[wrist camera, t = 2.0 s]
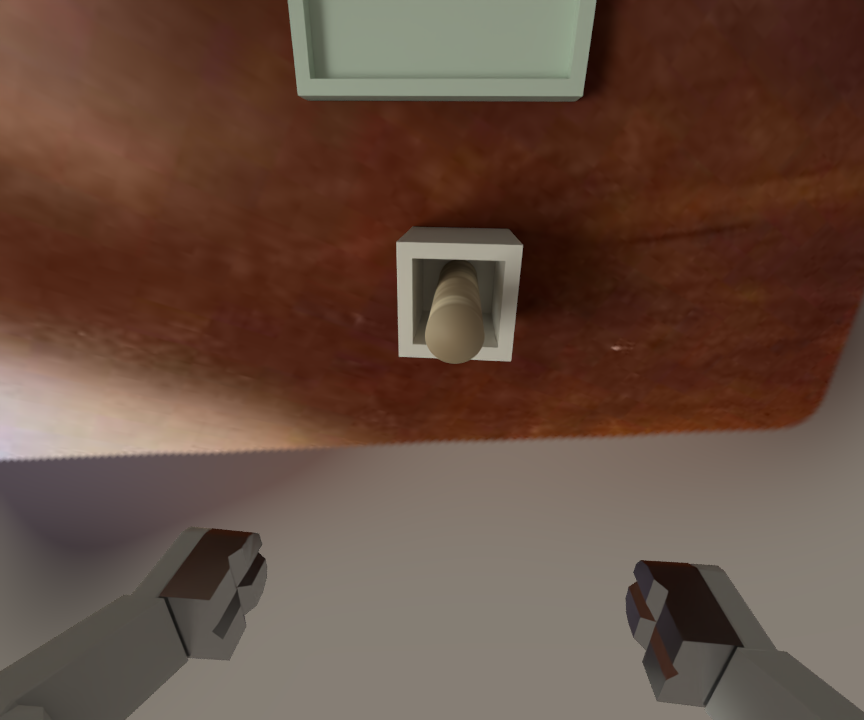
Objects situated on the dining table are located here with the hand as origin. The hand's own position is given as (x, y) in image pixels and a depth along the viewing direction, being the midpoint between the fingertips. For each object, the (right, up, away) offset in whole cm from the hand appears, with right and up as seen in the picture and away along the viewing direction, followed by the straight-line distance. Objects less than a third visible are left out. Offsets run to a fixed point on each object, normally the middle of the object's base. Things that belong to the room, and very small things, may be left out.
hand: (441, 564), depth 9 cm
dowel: (+2, +11, +25) cm, 28 cm away
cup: (+2, +12, +26) cm, 29 cm away
